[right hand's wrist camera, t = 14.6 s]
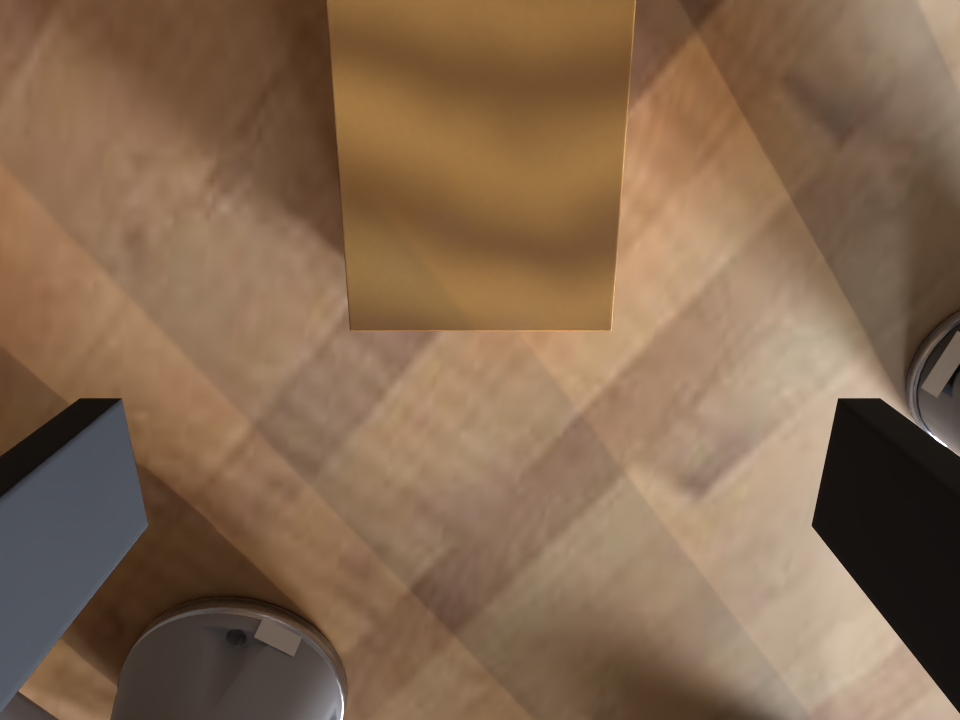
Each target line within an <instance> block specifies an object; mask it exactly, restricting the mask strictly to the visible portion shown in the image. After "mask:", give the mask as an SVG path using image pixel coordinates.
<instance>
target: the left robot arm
mask: <svg viewBox="0 0 960 720" xmlns="http://www.w3.org/2000/svg"><path fill="white" fill-rule="evenodd" d="M906 398H907V404H908V408H909V410H910V413H911V415H912V417H913V419H914V420H915V422H916V423H917V425H918V426H919V427H920V428H921V429H922V430H924V431H925V432H927V433H928V434H929V435H931V436H932V437H933V438H935V439H936V440H937V441H939V442H940V443H942V444H943V445H945V446H947V447H949V448H950V449H951V450H953V451H954V452H956V453H957V454H958V455H960V311H959V312H957V313H955V314H954V315H952V316H951V317H949V318H948V319H946V320H945V321H944V322H943V323H942V324H940V325H939V326H938V327H937V328H936V329H935V330H934V331H933V332H932V333H931V334H930V335H929V336H928V337H927V339H926V340H925V341H924V343H923V344H922V345H921V347H920V348H919V350H918V352H917V353H916V355H915V357H914V359H913V362H912V364H911V366H910V370H909V373H908V377H907V384H906Z"/></svg>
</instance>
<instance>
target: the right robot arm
mask: <svg viewBox="0 0 960 720" xmlns="http://www.w3.org/2000/svg"><path fill="white" fill-rule="evenodd" d="M147 527H148V522H147V517H146V512H145V507H144V503H143V498H142V493H141V488H140V483H139V479H138V474H137V469H136V464H135V459H134V455H133V450H132V445H131V440H130V436H129V431H128V426H127V421H126V416H125V412H124V407H123V402H122V398H80V399H79V400H77V401H76V402H74V403H73V404H72V405H70V406H69V407H68V408H66V409H65V410H64V411H62V412H61V413H59V414H58V415H57V416H55V417H54V418H53V419H51V420H50V421H48V422H47V423H46V424H44V425H43V426H42V427H40V428H39V429H38V430H36V431H35V432H33V433H32V434H31V435H29V436H28V437H27V438H25V439H24V440H23V441H21V442H20V443H18V444H17V445H16V446H14V447H13V448H12V449H10V450H9V451H7V452H6V453H5V454H3V455H2V456H1V457H0V720H59V719H57V718H56V717H54V716H53V715H51V714H50V713H48V712H47V711H46V710H44V709H43V708H41V707H40V706H38V705H37V704H36V703H34V702H33V701H31V700H30V699H28V698H27V697H25V696H24V695H23V694H21V693H20V692H18V690H19V689H20V688H21V687H22V685H23V684H24V683H25V681H26V680H27V679H28V678H29V676H30V675H31V674H32V673H33V671H34V670H35V669H36V668H37V666H38V665H39V664H40V662H41V661H42V660H43V659H44V657H45V656H46V655H47V654H48V652H49V651H50V650H51V649H52V647H53V646H54V645H55V643H56V642H57V641H58V640H59V638H60V637H61V636H62V635H63V633H64V632H65V631H66V630H67V628H68V627H69V626H70V624H71V623H72V622H73V621H74V619H75V618H76V617H77V616H78V614H79V613H80V612H81V611H82V609H83V608H84V607H85V605H86V604H87V603H88V602H89V600H90V599H91V598H92V597H93V595H94V594H95V593H96V592H97V590H98V589H99V588H100V586H101V585H102V584H103V583H104V581H105V580H106V579H107V578H108V576H109V575H110V574H111V572H112V571H113V570H114V569H115V567H116V566H117V565H118V564H119V562H120V561H121V560H122V559H123V557H124V556H125V555H126V553H127V552H128V551H129V550H130V548H131V547H132V546H133V545H134V543H135V542H136V541H137V540H138V538H139V537H140V536H141V534H142V533H143V532H144V531H145V529H146V528H147ZM812 527H813V528H814V529H815V531H816V532H817V533H818V534H819V536H820V537H821V538H822V540H823V541H824V542H825V543H826V545H827V546H828V547H829V548H830V550H831V551H832V552H833V553H834V555H835V556H836V557H837V559H838V560H839V561H840V562H841V564H842V565H843V566H844V567H845V569H846V570H847V571H848V572H849V574H850V575H851V576H852V578H853V579H854V580H855V581H856V583H857V584H858V585H859V586H860V588H861V589H862V590H863V592H864V593H865V594H866V595H867V597H868V598H869V599H870V600H871V602H872V603H873V604H874V605H875V607H876V608H877V609H878V611H879V612H880V613H881V614H882V616H883V617H884V618H885V619H886V621H887V622H888V623H889V624H890V626H891V627H892V628H893V630H894V631H895V632H896V633H897V635H898V636H899V637H900V638H901V640H902V641H903V642H904V643H905V645H906V646H907V647H908V649H909V650H910V651H911V652H912V654H913V655H914V656H915V657H916V659H917V660H918V661H919V662H920V664H921V665H922V666H923V668H924V669H925V670H926V671H927V673H928V674H929V675H930V676H931V678H932V679H933V680H934V681H935V683H936V684H937V685H938V687H939V688H940V689H941V690H942V692H943V693H944V694H945V695H946V697H947V698H948V699H949V700H950V702H951V703H952V704H953V706H954V707H955V708H956V709H957V711H958V712H959V713H960V457H959V456H958V455H957V454H955V453H954V452H953V451H951V450H950V449H948V448H947V447H946V446H944V445H943V444H942V443H940V442H939V441H937V440H936V439H935V438H933V437H932V436H931V435H929V434H928V433H927V432H925V431H924V430H922V429H921V428H920V427H918V426H917V425H916V424H914V423H913V422H912V421H910V420H909V419H907V418H906V417H905V416H903V415H902V414H901V413H899V412H898V411H896V410H895V409H894V408H892V407H891V406H890V405H888V404H887V403H886V402H884V401H883V400H881V399H880V398H838V402H837V407H836V412H835V416H834V421H833V426H832V431H831V435H830V440H829V445H828V450H827V455H826V459H825V464H824V469H823V474H822V479H821V483H820V488H819V493H818V498H817V503H816V507H815V512H814V517H813V522H812ZM346 700H347V678H346V674H345V670H344V667H343V665H342V662H341V660H340V658H339V656H338V654H337V652H336V651H335V649H334V648H333V646H332V645H331V644H330V643H329V641H328V640H327V639H326V638H325V637H324V636H323V635H322V634H321V633H320V632H319V631H318V630H317V629H316V628H314V627H313V626H312V625H311V624H309V623H308V622H306V621H305V620H303V619H302V618H300V617H299V616H297V615H295V614H293V613H291V612H289V611H287V610H285V609H283V608H280V607H278V606H275V605H273V604H269V603H266V602H263V601H258V600H254V599H248V598H241V597H210V598H203V599H198V600H193V601H190V602H186V603H183V604H181V605H178V606H176V607H174V608H172V609H170V610H168V611H166V612H164V613H163V614H161V615H160V616H158V617H157V618H156V619H155V620H154V621H152V622H151V623H150V624H149V625H148V626H147V627H146V629H145V630H144V631H143V633H142V634H141V635H140V637H139V638H138V640H137V642H136V643H135V645H134V646H133V648H132V649H131V651H130V653H129V654H128V656H127V658H126V660H125V662H124V665H123V668H122V671H121V674H120V677H119V681H118V686H117V694H116V698H115V702H114V706H113V710H112V715H111V719H110V720H342V718H343V714H344V709H345V705H346Z"/></svg>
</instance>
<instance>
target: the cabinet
mask: <svg viewBox="0 0 960 720" xmlns="http://www.w3.org/2000/svg"><path fill="white" fill-rule="evenodd" d="M635 7H636V0H326V8H327V22H328V35H329V49H330V63H331V76H332V90H333V104H334V118H335V131H336V145H337V159H338V173H339V186H340V200H341V214H342V227H343V241H344V255H345V269H346V282H347V296H348V310H349V323H350V331H611V330H612V319H613V306H614V292H615V279H616V265H617V251H618V238H619V224H620V211H621V197H622V184H623V170H624V157H625V143H626V129H627V116H628V102H629V89H630V75H631V62H632V48H633V34H634V21H635Z"/></svg>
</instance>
